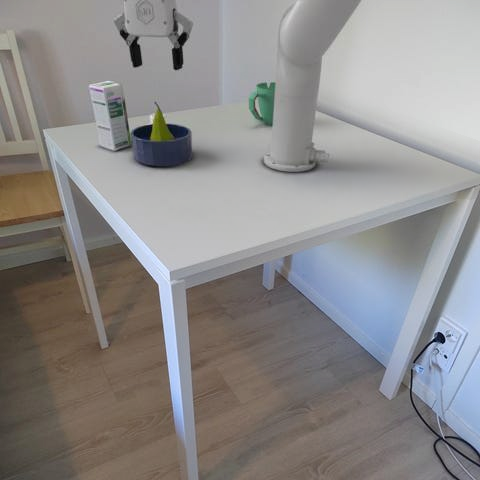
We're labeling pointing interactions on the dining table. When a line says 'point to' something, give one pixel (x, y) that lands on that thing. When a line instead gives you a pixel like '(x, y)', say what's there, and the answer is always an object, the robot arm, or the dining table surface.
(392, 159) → the dining table surface
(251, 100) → the mug
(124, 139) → the syrup box
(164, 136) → the fruit
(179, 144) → the bowl
